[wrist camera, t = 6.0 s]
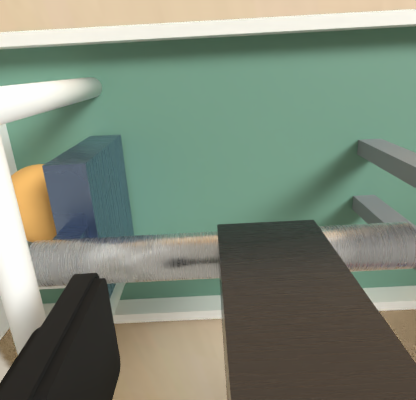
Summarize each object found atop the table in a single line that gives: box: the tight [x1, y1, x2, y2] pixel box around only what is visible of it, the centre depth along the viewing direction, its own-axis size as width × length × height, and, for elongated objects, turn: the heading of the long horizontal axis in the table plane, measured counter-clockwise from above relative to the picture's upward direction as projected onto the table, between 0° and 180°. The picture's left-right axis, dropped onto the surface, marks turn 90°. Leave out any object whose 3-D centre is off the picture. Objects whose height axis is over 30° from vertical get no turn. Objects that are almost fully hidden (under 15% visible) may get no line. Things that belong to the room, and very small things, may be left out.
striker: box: [29, 135, 416, 400], centre depth 13 cm, size 13×6×15 cm, turn 93°
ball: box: [11, 164, 57, 242], centre depth 18 cm, size 4×4×4 cm
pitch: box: [0, 9, 416, 355], centre depth 16 cm, size 24×16×12 cm, turn 93°
